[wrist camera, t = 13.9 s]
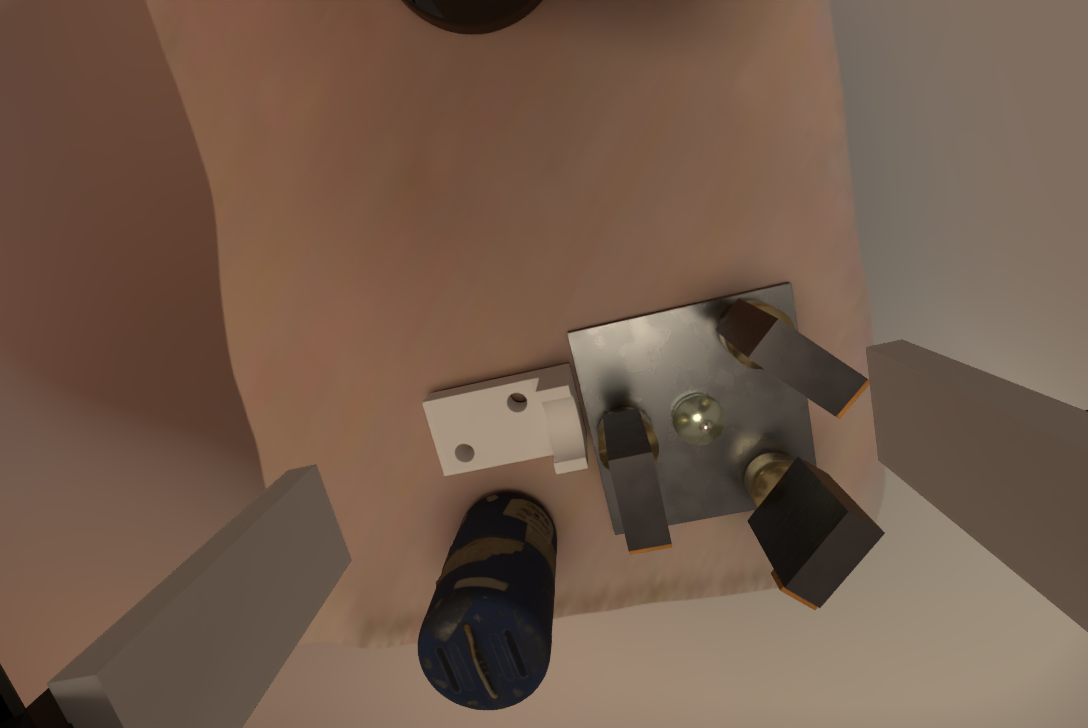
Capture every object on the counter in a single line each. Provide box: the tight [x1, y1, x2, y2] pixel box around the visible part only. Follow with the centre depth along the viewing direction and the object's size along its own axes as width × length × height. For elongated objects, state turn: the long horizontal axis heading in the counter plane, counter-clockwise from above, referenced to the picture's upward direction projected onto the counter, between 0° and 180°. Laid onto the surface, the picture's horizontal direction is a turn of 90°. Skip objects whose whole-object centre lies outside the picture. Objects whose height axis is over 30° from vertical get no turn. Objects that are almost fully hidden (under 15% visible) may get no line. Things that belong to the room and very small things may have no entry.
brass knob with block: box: [744, 452, 885, 610], centre depth 45 cm, size 7×5×13 cm
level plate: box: [568, 282, 816, 535], centre depth 50 cm, size 20×19×2 cm
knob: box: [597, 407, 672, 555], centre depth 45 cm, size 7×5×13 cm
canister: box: [418, 493, 557, 710], centre depth 47 cm, size 10×10×18 cm
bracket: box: [422, 363, 588, 476], centre depth 49 cm, size 13×7×8 cm, turn 103°
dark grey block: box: [715, 298, 870, 419], centre depth 42 cm, size 7×5×13 cm
